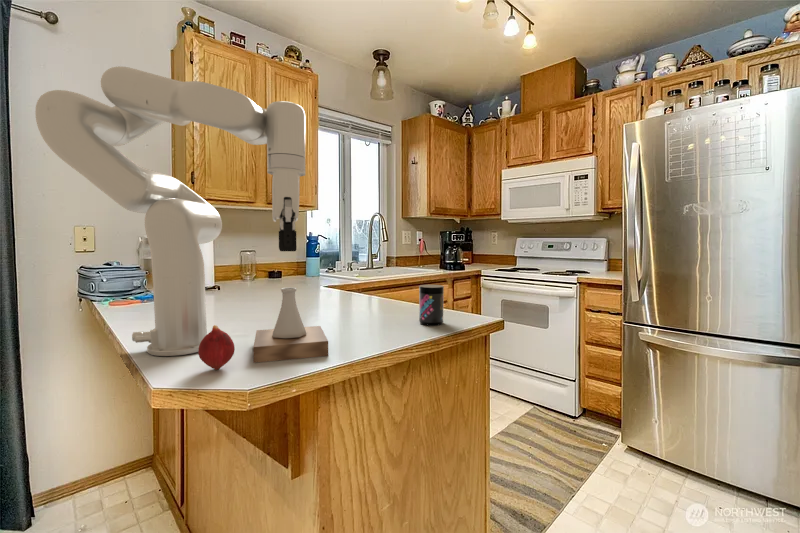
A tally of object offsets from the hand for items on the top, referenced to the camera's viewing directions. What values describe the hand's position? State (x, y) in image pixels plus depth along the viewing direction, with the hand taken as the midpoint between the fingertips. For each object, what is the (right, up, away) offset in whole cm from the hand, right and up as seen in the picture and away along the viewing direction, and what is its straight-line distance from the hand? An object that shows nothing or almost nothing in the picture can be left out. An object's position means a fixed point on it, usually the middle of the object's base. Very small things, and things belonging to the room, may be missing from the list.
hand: (287, 250), depth 80 cm
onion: (-9, -22, -11) cm, 26 cm away
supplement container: (+32, -19, +27) cm, 46 cm away
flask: (0, -18, +1) cm, 18 cm away
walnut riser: (0, -21, +1) cm, 21 cm away
